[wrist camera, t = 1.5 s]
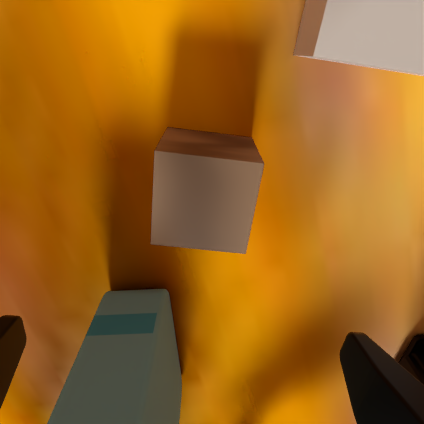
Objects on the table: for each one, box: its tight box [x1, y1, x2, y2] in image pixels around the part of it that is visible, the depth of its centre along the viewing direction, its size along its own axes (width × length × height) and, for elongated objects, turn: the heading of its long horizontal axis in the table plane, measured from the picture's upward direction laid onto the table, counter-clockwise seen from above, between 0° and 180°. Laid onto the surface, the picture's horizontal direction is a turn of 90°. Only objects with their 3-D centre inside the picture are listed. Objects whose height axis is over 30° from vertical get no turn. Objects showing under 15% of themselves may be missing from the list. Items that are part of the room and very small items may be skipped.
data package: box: [47, 289, 182, 424], centre depth 21 cm, size 12×4×12 cm, turn 3°
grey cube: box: [151, 127, 264, 254], centre depth 18 cm, size 5×5×5 cm
